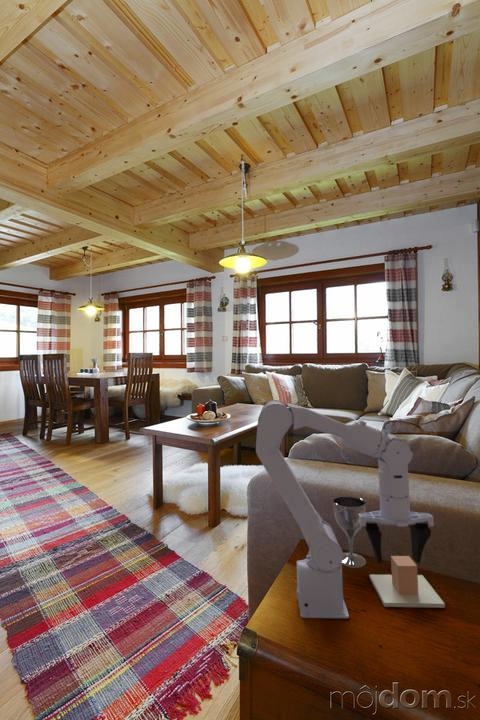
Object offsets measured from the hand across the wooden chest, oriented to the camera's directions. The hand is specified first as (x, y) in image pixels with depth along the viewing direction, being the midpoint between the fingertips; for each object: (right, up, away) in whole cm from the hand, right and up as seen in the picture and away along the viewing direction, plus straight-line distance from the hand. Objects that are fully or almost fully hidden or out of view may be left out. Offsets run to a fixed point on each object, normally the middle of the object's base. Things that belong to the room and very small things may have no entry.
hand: (397, 560), depth 71 cm
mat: (+4, -10, +4) cm, 11 cm away
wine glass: (-4, -10, +18) cm, 21 cm away
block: (+4, -9, +4) cm, 10 cm away
